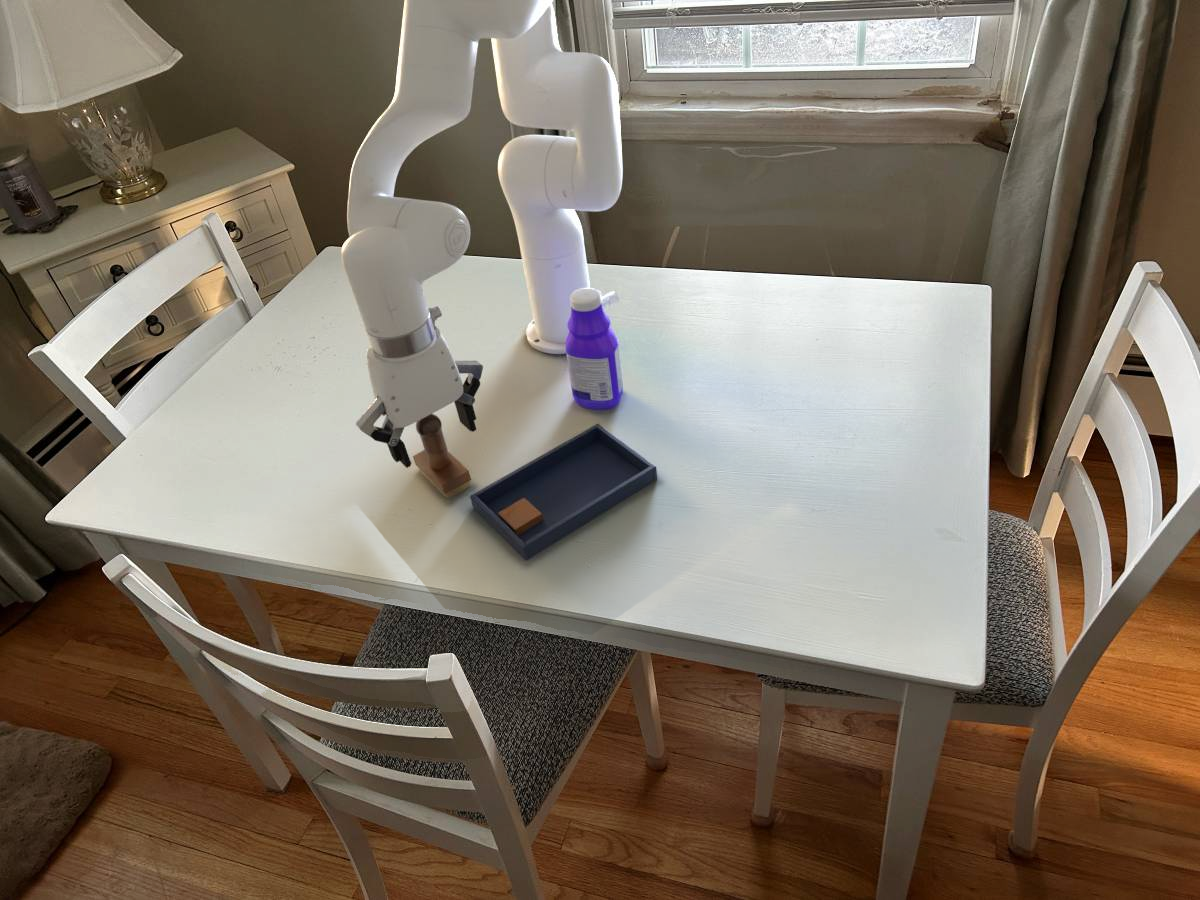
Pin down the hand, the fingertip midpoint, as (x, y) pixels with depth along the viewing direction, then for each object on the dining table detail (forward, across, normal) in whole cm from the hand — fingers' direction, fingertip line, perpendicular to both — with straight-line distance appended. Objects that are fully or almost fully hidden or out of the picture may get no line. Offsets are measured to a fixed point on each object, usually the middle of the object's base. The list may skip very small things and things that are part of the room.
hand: (436, 443), depth 116 cm
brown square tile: (+5, -3, +14) cm, 15 cm away
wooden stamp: (+6, 0, 0) cm, 6 cm away
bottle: (+6, -25, +1) cm, 25 cm away
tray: (+6, -9, +14) cm, 18 cm away
